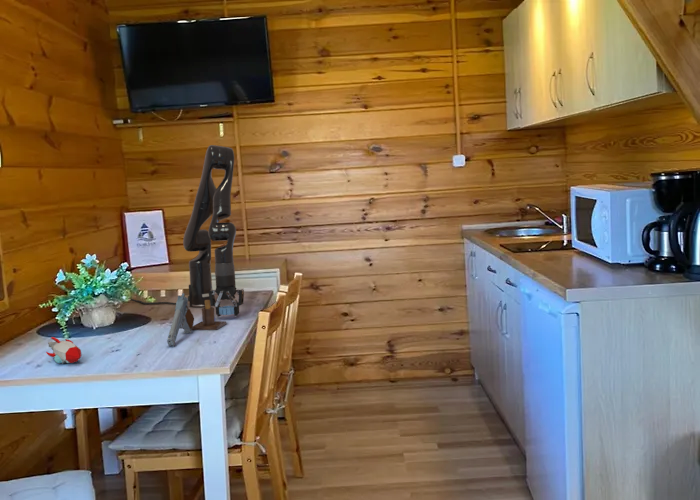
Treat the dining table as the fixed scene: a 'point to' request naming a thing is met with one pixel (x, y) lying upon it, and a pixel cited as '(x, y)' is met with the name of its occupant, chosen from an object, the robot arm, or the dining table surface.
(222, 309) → the ring
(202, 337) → the dining table surface
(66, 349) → the toy
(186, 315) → the handgun
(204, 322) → the stand
